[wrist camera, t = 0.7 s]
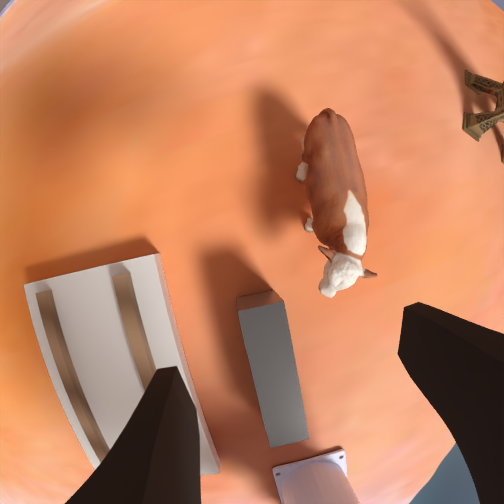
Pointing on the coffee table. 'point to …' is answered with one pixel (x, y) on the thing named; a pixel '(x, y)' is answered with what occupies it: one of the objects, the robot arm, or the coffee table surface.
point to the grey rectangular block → (273, 366)
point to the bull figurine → (335, 199)
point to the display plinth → (110, 348)
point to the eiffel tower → (484, 121)
